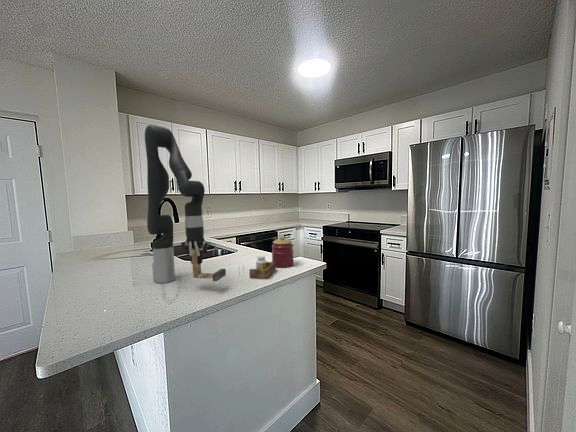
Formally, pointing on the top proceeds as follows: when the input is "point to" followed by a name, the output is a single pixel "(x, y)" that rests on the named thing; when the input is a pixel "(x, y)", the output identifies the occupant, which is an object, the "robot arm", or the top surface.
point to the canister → (282, 252)
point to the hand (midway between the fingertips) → (196, 263)
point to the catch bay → (263, 271)
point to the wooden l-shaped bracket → (198, 274)
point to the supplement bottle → (261, 262)
